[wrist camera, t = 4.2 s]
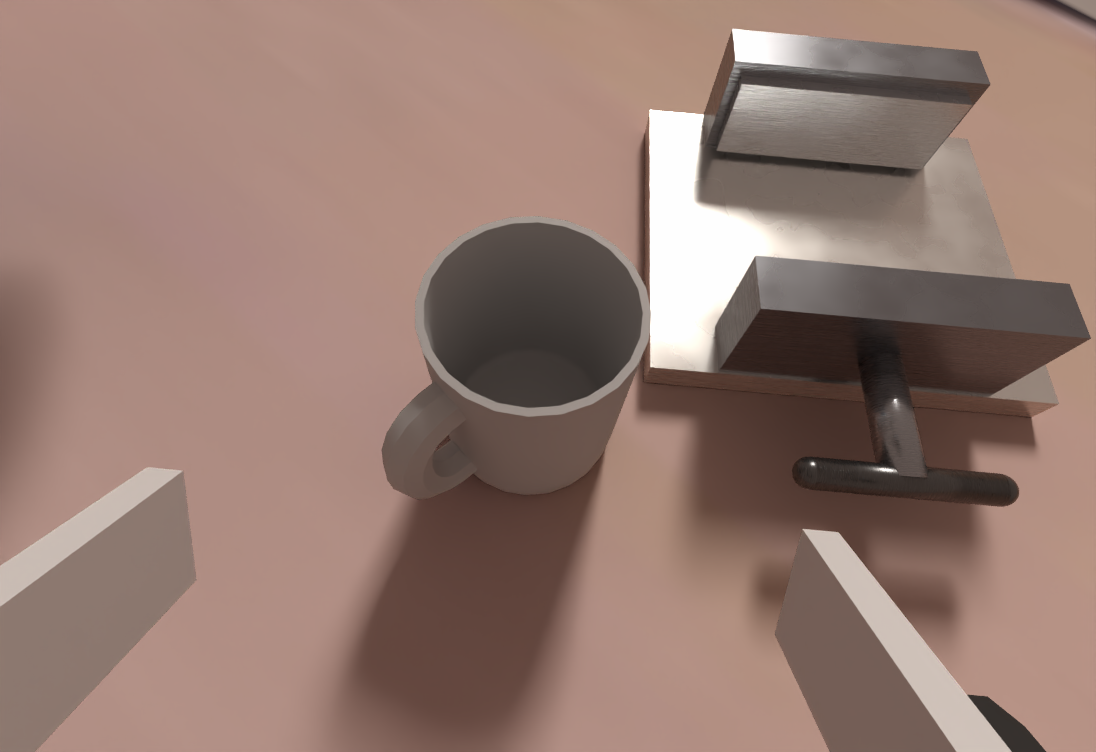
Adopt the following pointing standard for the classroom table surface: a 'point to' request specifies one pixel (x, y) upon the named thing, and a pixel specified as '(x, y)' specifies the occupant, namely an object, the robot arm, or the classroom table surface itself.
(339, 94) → the classroom table surface
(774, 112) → the vise
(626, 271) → the cup
